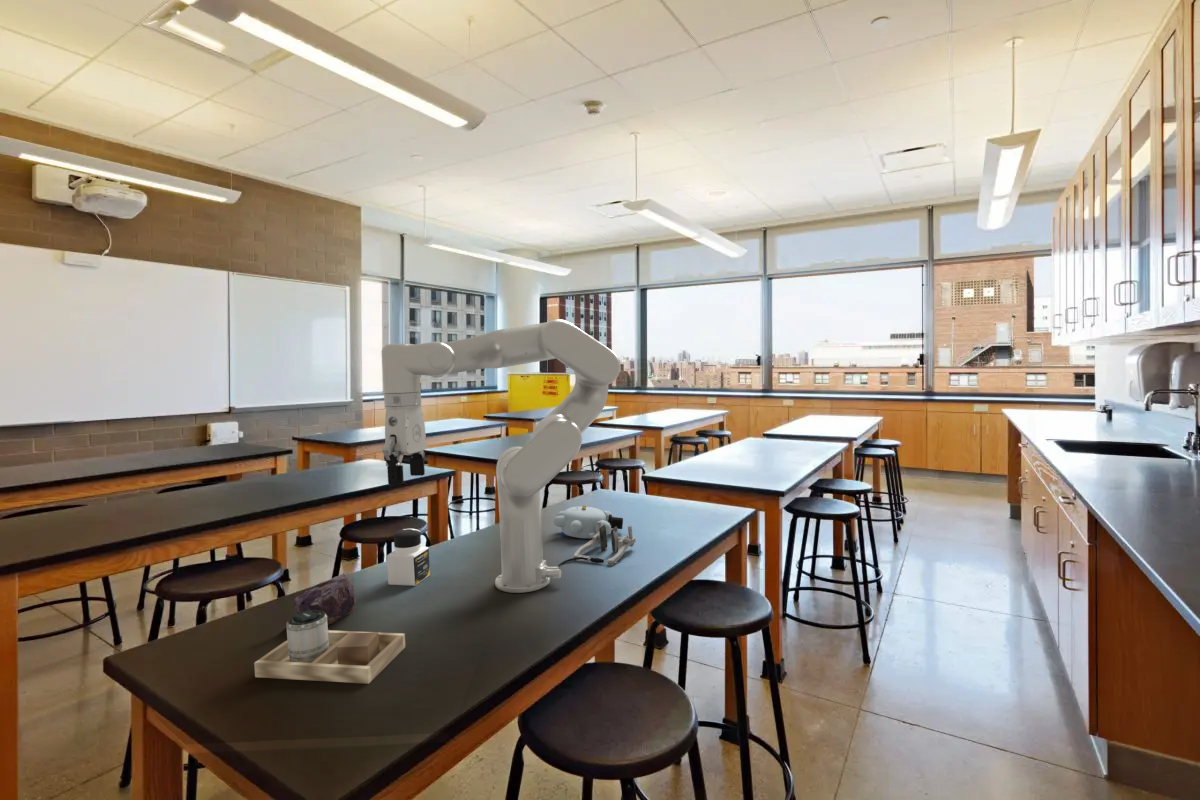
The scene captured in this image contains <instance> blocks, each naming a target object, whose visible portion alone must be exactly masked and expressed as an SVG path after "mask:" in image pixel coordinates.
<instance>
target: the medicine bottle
mask: <svg viewBox="0 0 1200 800" xmlns="http://www.w3.org/2000/svg"><path fill="white" fill-rule="evenodd" d="M393 546H394V547H393V548H394V551H392V552H390V553H388V554H387V555H386V564H387V565H386V566H387V567H386V568H387V581H388V582H387V584H388V585H389V586H409V587H415V586H418V585H419V584H420V583H421V582H422V581H424V580H425V579H427V578H428V577H429V576H430V575H431V568H430V565H431V564H430V551H429V550H430V549H429V546H422V537H421V531H420V530H419V529H416V528H403V529H400V530H398V531H396V532H395V533H394V534H393Z"/></svg>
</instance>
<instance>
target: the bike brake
mask: <svg viewBox="0 0 1200 800" xmlns="http://www.w3.org/2000/svg"><path fill="white" fill-rule="evenodd" d="M597 525H598V532H597V533H593V534H592V533H590V534H589V537H591V538H590V539H591V540H589V541H588V542H586V543H585V544H583V545H582V546H579V548H578V549H577V550H576V551H575V552H574V554H573V557H572V558H569V559H565V560H564V561H562V562H560V563H559V564H558V565H557V567H562V565H564V564H565V563H566V564H567V563H569V562H572V561H578V562H584V563H585V562H586V563H589V562H591V563H594V564H599V563H600V564H604V563H607V565H608V566H613V565H615V564H618V561H619V560H620V559H621V558H622V557H623V555H624V554H625V552H626V550H627V549H628V548H629V547H631V548H632V547H634V545H635V543H636V541H637V539H636V536H634V535H633V529H632V527H633V526H632V524H629V525H627V534H628V535H627V534H625V535H624V536H619V531H618V530H619V529H617V526H615V527H614V528H611V531H610V539H611V549H612V553H613V554H615V555H614V556H612V557H611V558H607V560H605V559H604V558H599V557H590V556H589V555H583V553H584V552H586V551H588V550H590V549H592V548H595V547H596V546H597V545H598V544H600V551H601V552H604V551H605V550H606V549H607V548H608V538H607V537H608V535H606V527H605V524H604V525H603V526H602V527H601V521H598V522H597Z"/></svg>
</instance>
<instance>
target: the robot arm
mask: <svg viewBox="0 0 1200 800" xmlns="http://www.w3.org/2000/svg"><path fill="white" fill-rule="evenodd" d="M555 359H556V360H558V361H559V362H560V363H562V364H563V365H565V366H566V367H567V368H569V369H570V370H572V371H573V372H574V377H575V379H574V381H575V383H574V386H573V388H572V389H571V392H569V394H568V395H567V396H566V397H565V398H564V399H563V400H562V401H561V402H560V403H559V404H558V405H557V406H556V407H555V408H554V409H553V410H551V411H550V412H549V413H548V414H547V415H546V416H544V417H543V418H542V419H541V420H540V421H539V422H537V424H536V425H535V427H534V429H533V432H532V438H531V439H530V440H529V441H528V442H527V443H525V445H523V446H511V447H510V448H507V449H505V450H504V451H503V452H502V453H501V454H500V456H499V458H498V459H497V462H496V467H495V474H496V485H497V497H498V512H499V513H498V514H499V535H500V539H499V540H500V562H501V566H500V567H501V574H499V575H498V576H497V577H496V578H495V581H494V582H495V588H496V589H498V590H500V591H502V592H506V593H514V594H520V593H528V592H529V593H530V592H534V591H538V590H541V589H544V588H545V587H546V586H548V585H549V584H550V583H551V578H552V579H561V577H562V570H561V569H559V566H549V565H547V560H546V559H543V535H542V534H543V533H542V531H543V530H542V504H541V502H542V501H541V490H542V489H543V488H544V487H545V486H547V484H549V482H551V481H552V480H553V479H554V478H555V477H556V476H557V475H558V474H559V473H560V472H561V471H563V469H565V468H566V466H568V465H569V464H570V462H572V461H573V459H574V458H575V457H576V456H577V454H578V453H579V451H580V449H581V446H582V441H583V437H582V434H583V433H584V432H585V431H586V429H588V427H589V426H590V425H591V424H592V423H593V422H594V421H596V419H597V418H598V417H599V415H600V414H601V413H602V411H603V410H604V409H605V406H606V404H607V399H608V394H609V385H610V384H613V383H614V382H615V381H616V380H617V378H619V376H620V372H621V363H620V360H619V358H618V355H617V354H616V353H615V352H614V351H613V350H611V349H610V348H609V347H607V346H606V345H604V344H603V343H601V342H600V341H598V340H597V339H595V338H594V337H592V335H590V334H588V333H587V332H585V331H584V330H582V329H580V328H579V327H578V326H576V325H575V324H573V323H571V322H569V321H568V320H565V319H560V318H559V319H558V318H556V319H552V320H550V321H547V322H540V323H534V324H530V325H529V324H528V325H527V324H526V325H521V326H516V327H509V328H503V329H495V330H492V331H489V332H487V333H484V334H481V335H477V336H474V337H469V338H463V339H457V340H451V341H444V342H442V341H430V342H423V343H416V344H413V343H389V344H386V345H384V346H383V347H382V348H381V366H382V382H383V400H384V409H385V415H384V416H385V417H384V418H385V421H384V439H385V440H384V441H385V442H384V444H383V446H382V447H381V451H382V454H383V459H384V461H385V466H386V467H387V483H388V485H391V486H392V485H393V486H394V485H395V486H397V485H398V486H401V485H403V484H404V483H405V480H404V466H403V464H402V462H403V458H404V455H405V456H410V457H409V474H410V476H416V477H417V476H421V477H422V476H424V475H426V474H425V472H426V471H425V469H426V468H425V454H426V453H425V450H426V449H427V437H426V427H425V426H426V425H425V424H426V423H425V419H424V413H423V410H422V409H423V408H422V393H421V391H422V389H421V376H426V377H427V376H428V377H436V378H437V377H443V376H446V375H452V374H453V375H454V374H458V373H464V372H470V371H476V370H483V369H500V368H501V369H502V368H509V367H514V366H520V365H525V364H532V363H536V362H538V363H539V362H543V361H549V360H555Z"/></svg>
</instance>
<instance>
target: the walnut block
mask: <svg viewBox="0 0 1200 800" xmlns="http://www.w3.org/2000/svg"><path fill="white" fill-rule="evenodd" d="M368 632H369V633H349V634H348V635H347V637H346V638H345V639H344V640H343V641H342V642H341V643H340V644H339V646H338V647H337V656H338V664H339V665H358V666H366V665H367V664H368V663H370V662H371V661H372V660H373V659H374V658H375V657H376V656H377V655H378V654H379V653H380V651H379V633H378V632H379V631H377V632H376V631H368Z"/></svg>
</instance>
